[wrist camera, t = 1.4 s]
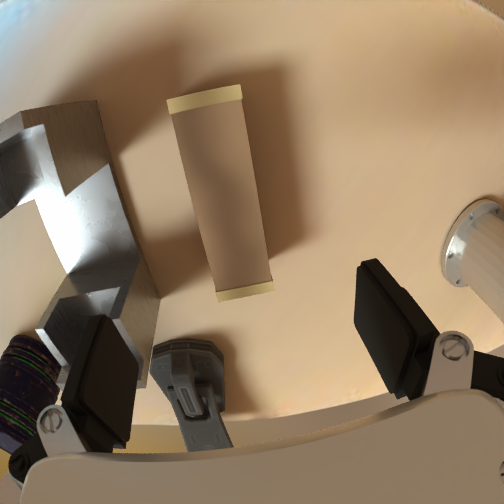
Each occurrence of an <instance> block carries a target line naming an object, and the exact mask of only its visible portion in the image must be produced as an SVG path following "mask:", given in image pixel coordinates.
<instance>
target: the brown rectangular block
mask: <svg viewBox="0 0 504 504" xmlns="http://www.w3.org/2000/svg"><path fill="white" fill-rule="evenodd" d="M241 99H243V97H242V91H241V86H240V84H238V85H232V86H226V87H221V88H216V89H211V90H206V91H201V92H197V93H192V94H188V95H184V96H180V97H176V98H172V99H168V100H166V101H167V105H168V110H169V114H171V115H172V120H173V124H174V129H175V133H176V138H177V142H178V146H179V150H180V155H181V159H182V163H183V167H184V171H185V175H186V180H187V184H188V188H189V192H190V196H191V199H192V203H193V207H194V211H195V215H196V219H197V222H198V226H199V230H200V234H201V237H202V241H203V245H204V248H205V252H206V256H207V259H208V263H209V266H210V270H211V273H212V277H213V280H214V284H215V289H216V296H217V299H218V302H221V301H226V300H231V299H236V298H241V297H246V296H251V295H256V294H261V293H266V292H271V291H275V290H274V284H273V279H272V276H271V273H270V267H269V260H268V254H267V248H266V242H265V236H264V229H263V223H262V217H261V211H260V205H259V199H258V193H257V187H256V181H255V175H254V169H253V164H252V158H251V152H250V146H249V140H248V135H247V129H246V123H245V118H244V112H243V107H242V101H241Z"/></svg>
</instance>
